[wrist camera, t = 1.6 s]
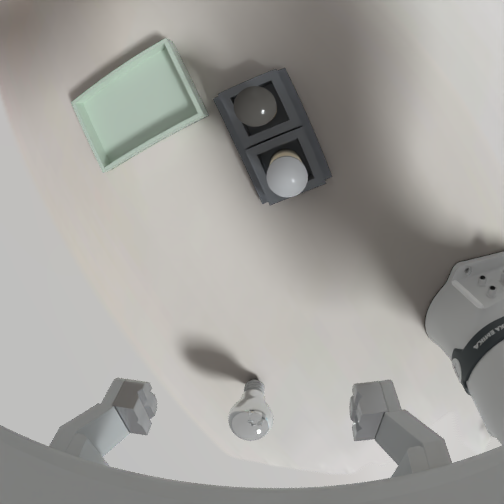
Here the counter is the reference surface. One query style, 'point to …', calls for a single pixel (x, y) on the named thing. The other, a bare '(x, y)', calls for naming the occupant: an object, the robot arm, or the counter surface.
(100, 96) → the parts tray
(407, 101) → the counter surface
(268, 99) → the fuse
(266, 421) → the light bulb
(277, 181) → the fuse
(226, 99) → the fuse block
